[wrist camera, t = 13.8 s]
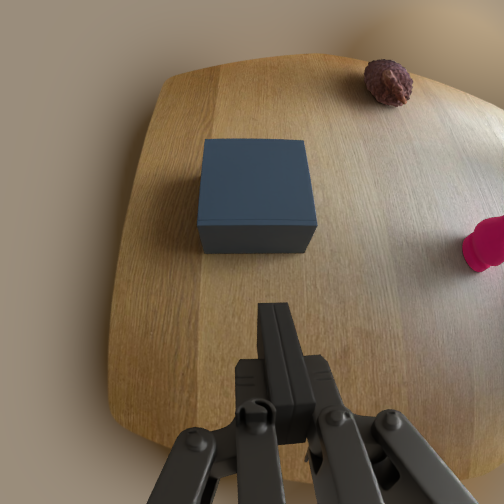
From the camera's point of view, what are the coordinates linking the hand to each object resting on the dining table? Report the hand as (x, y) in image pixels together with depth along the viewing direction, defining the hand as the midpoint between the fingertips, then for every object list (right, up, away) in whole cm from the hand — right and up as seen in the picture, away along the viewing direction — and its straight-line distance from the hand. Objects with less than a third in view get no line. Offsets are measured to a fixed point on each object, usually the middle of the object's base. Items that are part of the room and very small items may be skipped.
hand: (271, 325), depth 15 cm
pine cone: (+26, +37, +36) cm, 58 cm away
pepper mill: (+34, +3, +22) cm, 41 cm away
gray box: (-1, +5, +17) cm, 18 cm away
